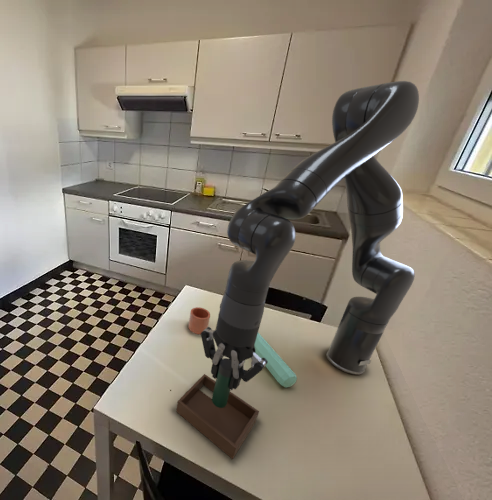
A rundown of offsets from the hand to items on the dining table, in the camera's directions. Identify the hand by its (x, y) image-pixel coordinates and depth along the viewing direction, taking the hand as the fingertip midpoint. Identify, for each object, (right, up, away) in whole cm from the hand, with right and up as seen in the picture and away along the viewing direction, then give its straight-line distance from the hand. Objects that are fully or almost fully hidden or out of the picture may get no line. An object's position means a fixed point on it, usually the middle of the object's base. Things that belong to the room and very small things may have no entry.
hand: (223, 381), depth 59 cm
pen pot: (+1, +2, +32) cm, 32 cm away
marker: (0, -6, +2) cm, 6 cm away
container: (+17, -3, +23) cm, 29 cm away
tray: (-1, -10, +4) cm, 11 cm away
